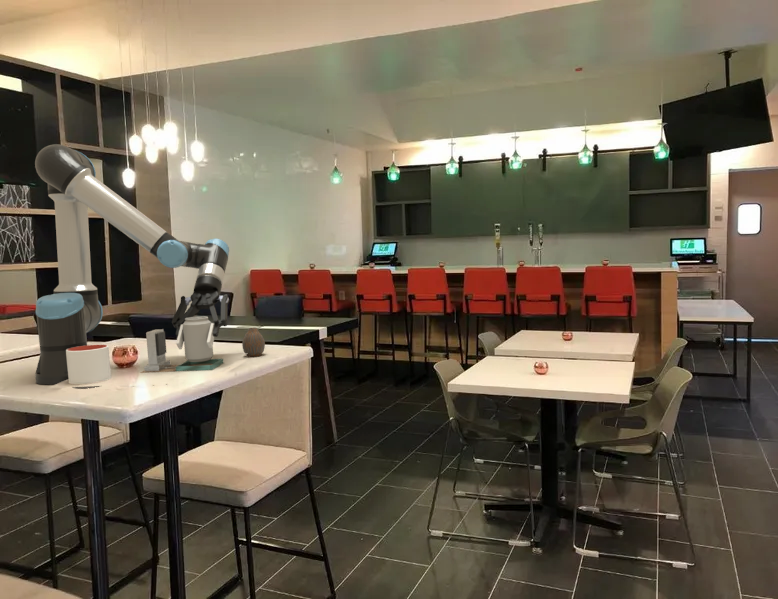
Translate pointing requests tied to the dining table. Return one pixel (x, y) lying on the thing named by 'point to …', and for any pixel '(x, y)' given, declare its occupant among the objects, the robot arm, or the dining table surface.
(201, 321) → the can
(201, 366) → the teal rectangular pan
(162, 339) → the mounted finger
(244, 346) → the vase
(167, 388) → the dining table surface
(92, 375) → the cup
